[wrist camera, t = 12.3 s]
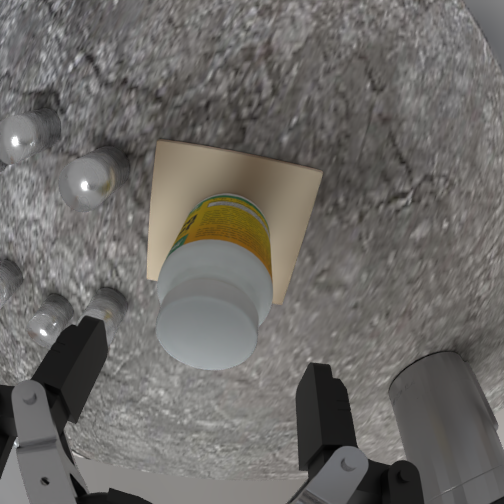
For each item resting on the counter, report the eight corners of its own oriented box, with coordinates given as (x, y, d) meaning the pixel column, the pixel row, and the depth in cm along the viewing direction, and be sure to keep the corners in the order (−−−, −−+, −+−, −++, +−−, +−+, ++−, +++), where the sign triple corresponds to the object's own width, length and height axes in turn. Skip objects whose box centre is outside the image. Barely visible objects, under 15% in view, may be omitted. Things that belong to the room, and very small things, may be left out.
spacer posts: (135, 112, 17) (106, 119, 13) (129, 337, 26) (115, 371, 23) (-15, 110, 16) (-50, 120, 12) (9, 300, 25) (-10, 324, 22)
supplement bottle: (256, 275, 22) (252, 391, 13) (179, 255, 21) (136, 363, 13) (281, 203, 19) (296, 304, 11) (195, 180, 19) (143, 265, 10)
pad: (321, 170, 19) (323, 172, 18) (281, 299, 23) (281, 304, 23) (160, 138, 18) (157, 140, 17) (149, 274, 23) (146, 278, 22)
